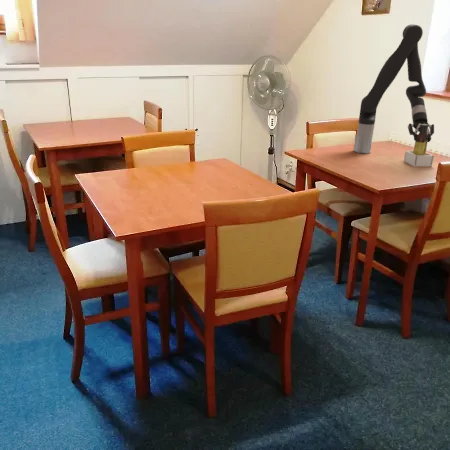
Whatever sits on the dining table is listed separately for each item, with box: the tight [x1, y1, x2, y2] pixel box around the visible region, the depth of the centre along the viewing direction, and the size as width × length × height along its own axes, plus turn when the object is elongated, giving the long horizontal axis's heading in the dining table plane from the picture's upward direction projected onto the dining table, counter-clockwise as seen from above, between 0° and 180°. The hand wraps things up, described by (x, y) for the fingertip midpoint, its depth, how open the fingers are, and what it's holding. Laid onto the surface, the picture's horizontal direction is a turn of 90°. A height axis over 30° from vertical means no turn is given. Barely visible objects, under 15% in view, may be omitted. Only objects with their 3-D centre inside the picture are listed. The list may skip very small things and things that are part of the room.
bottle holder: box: [403, 150, 435, 167], centre depth 256 cm, size 10×11×6 cm
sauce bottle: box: [413, 124, 429, 155], centre depth 252 cm, size 6×6×20 cm
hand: (422, 140), depth 250 cm, fingers closed on sauce bottle, 6 cm apart
